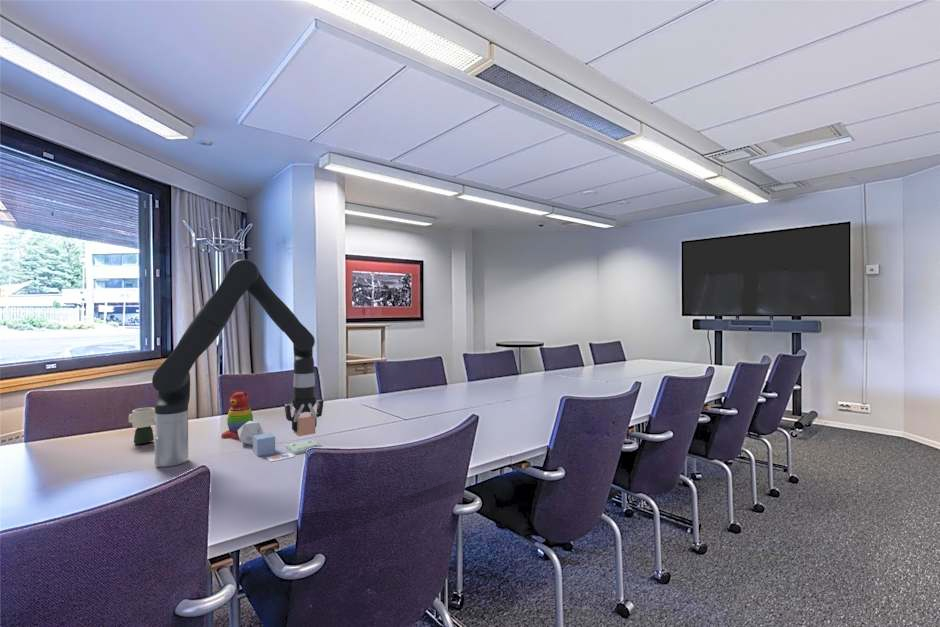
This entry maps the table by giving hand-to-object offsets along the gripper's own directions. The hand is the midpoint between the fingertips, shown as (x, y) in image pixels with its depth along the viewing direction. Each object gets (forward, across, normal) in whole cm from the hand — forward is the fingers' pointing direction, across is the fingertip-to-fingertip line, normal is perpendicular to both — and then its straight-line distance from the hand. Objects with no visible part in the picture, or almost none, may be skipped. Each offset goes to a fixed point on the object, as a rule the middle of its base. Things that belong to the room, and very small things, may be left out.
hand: (304, 429), depth 166 cm
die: (+7, -14, +19) cm, 25 cm away
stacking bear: (+7, -15, +33) cm, 37 cm away
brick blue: (+7, -13, +4) cm, 15 cm away
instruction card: (+7, -10, -5) cm, 13 cm away
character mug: (+7, -46, +44) cm, 64 cm away
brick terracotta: (+1, 0, 0) cm, 1 cm away
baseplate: (+7, 0, 0) cm, 7 cm away
